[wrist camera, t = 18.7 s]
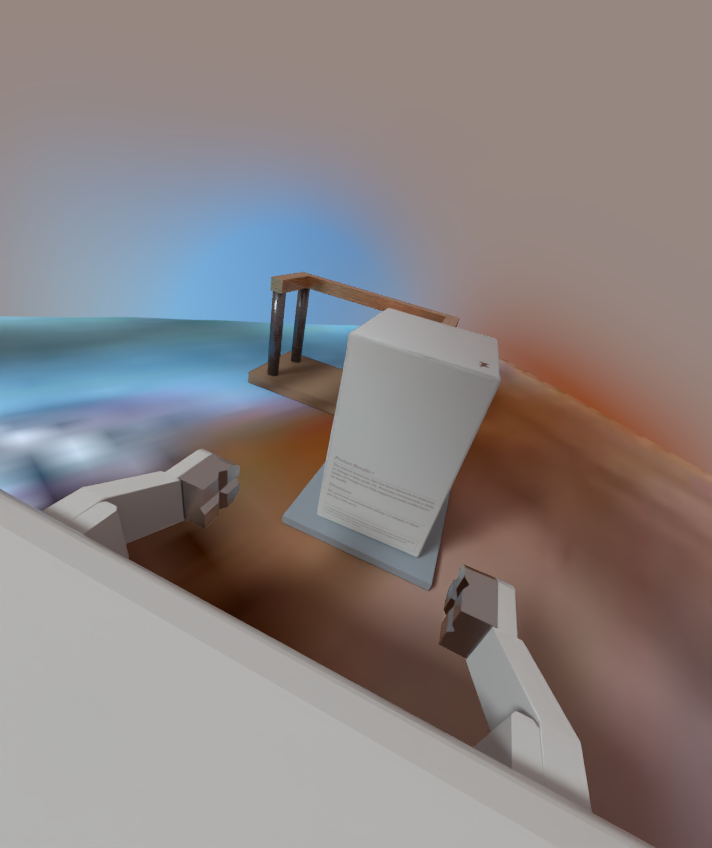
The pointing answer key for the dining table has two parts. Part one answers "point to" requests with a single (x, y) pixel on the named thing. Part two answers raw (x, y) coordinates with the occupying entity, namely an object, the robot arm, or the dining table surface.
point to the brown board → (302, 381)
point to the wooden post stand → (309, 281)
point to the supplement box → (404, 424)
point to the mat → (365, 538)
